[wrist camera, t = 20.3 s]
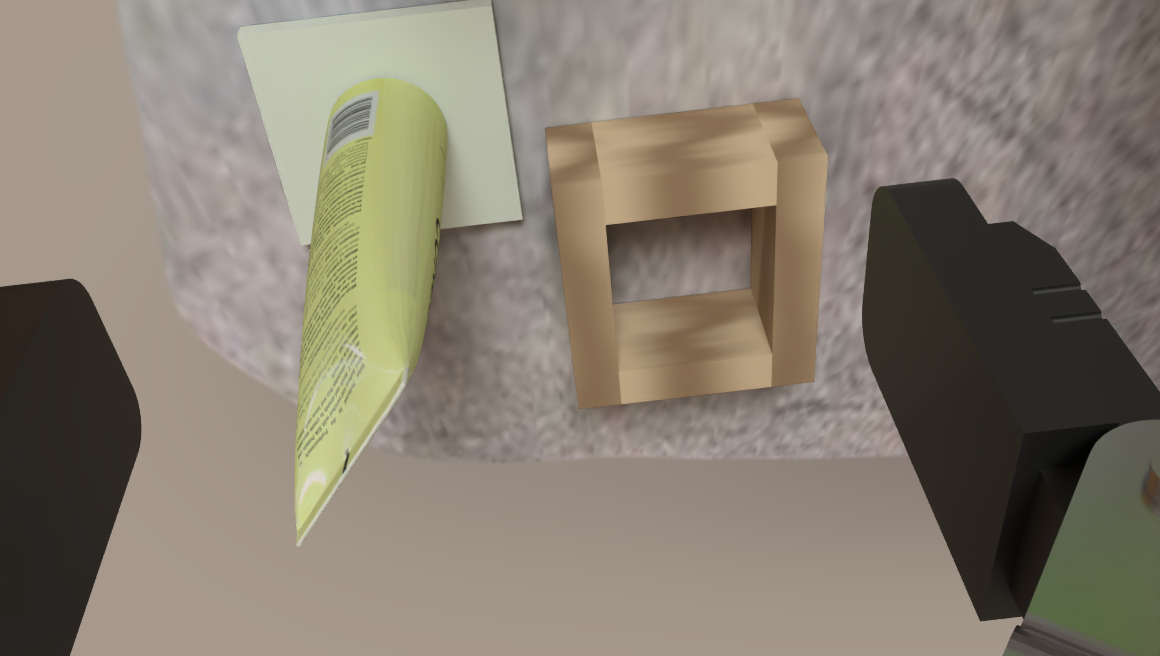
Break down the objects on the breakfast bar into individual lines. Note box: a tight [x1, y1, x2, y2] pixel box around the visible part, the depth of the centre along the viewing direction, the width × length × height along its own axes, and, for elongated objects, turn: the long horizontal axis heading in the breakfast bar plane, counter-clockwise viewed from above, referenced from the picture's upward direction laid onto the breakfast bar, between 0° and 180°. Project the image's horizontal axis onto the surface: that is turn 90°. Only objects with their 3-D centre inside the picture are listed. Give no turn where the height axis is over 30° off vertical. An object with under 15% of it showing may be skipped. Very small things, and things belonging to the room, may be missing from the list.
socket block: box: [545, 98, 828, 409], centre depth 49 cm, size 11×12×5 cm
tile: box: [237, 0, 523, 245], centre depth 46 cm, size 10×10×1 cm
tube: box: [295, 78, 447, 547], centre depth 38 cm, size 6×5×20 cm
